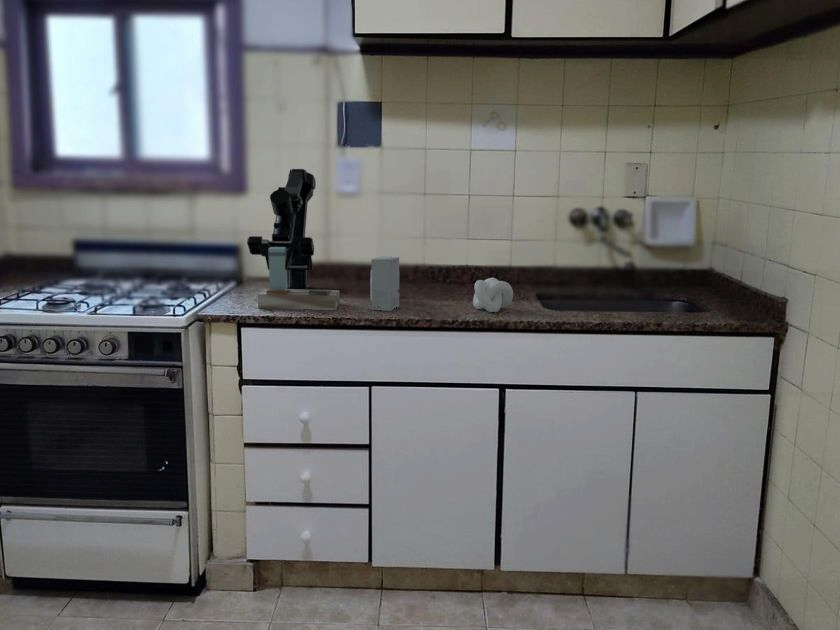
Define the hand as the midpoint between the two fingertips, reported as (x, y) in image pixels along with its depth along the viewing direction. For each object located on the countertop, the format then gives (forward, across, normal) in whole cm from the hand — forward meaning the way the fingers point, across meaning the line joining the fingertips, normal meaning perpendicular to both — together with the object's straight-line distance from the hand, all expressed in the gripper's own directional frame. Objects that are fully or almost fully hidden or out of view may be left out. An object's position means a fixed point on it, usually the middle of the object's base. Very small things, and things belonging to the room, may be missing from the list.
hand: (277, 269), depth 218 cm
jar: (0, -30, -16) cm, 34 cm away
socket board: (+7, -6, -9) cm, 13 cm away
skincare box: (+8, -31, -8) cm, 33 cm away
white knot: (+7, -62, -9) cm, 63 cm away
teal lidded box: (+4, 0, -6) cm, 7 cm away
